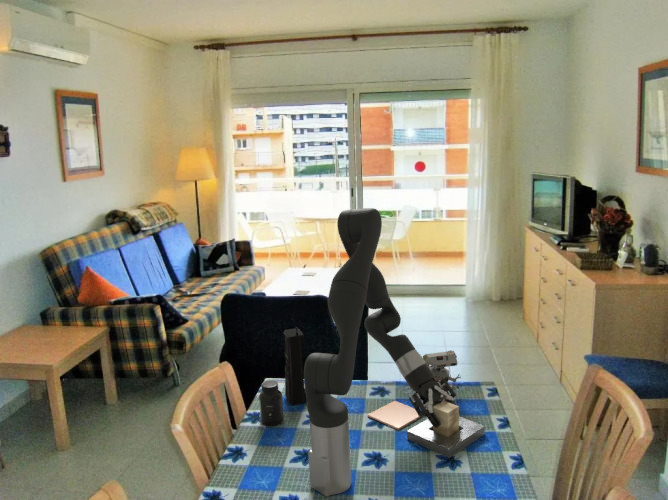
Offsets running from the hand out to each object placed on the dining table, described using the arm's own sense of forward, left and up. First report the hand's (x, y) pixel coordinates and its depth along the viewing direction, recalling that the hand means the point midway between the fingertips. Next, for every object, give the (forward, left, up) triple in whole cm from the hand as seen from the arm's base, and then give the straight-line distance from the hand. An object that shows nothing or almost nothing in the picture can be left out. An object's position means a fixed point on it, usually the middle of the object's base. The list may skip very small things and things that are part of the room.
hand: (448, 420), depth 162 cm
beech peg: (0, +1, -5) cm, 5 cm away
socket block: (0, +1, -5) cm, 5 cm away
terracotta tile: (0, +19, -5) cm, 19 cm away
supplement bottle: (-27, +44, -5) cm, 52 cm away
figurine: (+18, +16, -5) cm, 24 cm away
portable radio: (-13, +50, -5) cm, 52 cm away
